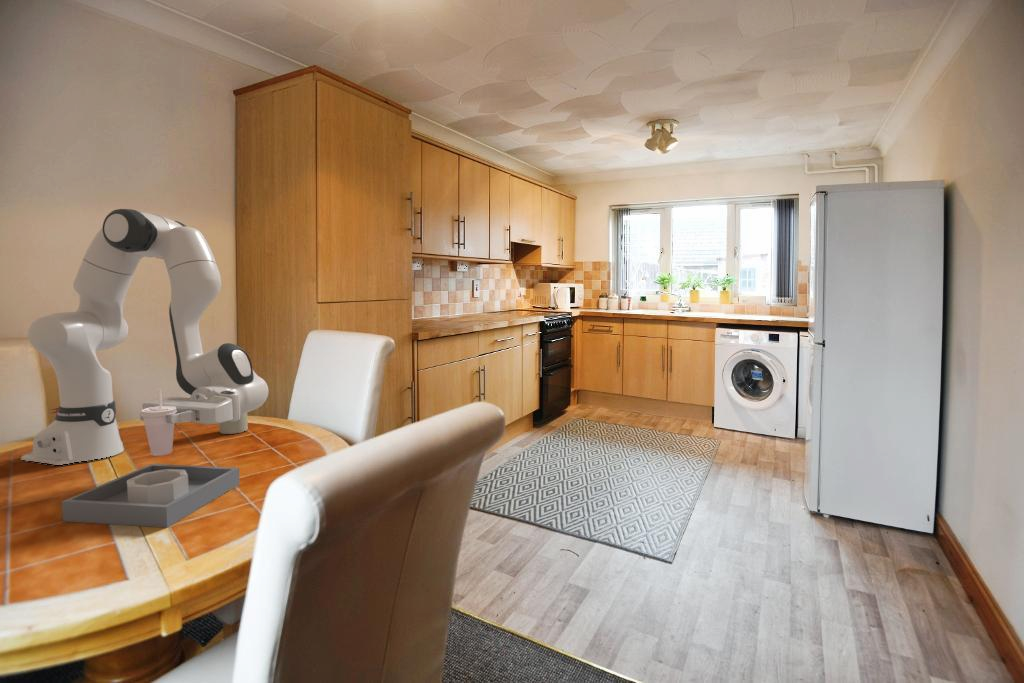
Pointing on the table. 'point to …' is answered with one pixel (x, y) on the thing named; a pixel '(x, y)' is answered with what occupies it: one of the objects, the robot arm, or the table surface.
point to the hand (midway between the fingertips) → (155, 418)
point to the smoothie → (159, 427)
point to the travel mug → (234, 425)
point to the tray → (149, 513)
